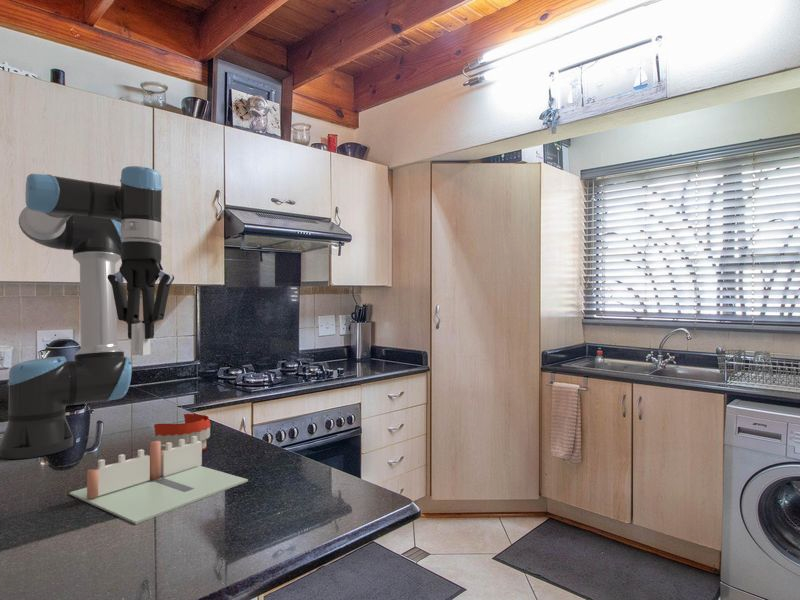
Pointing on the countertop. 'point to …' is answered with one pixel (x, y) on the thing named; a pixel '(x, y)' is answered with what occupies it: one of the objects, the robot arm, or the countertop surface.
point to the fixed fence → (174, 457)
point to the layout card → (162, 493)
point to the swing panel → (117, 474)
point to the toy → (184, 431)
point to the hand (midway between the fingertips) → (140, 354)
